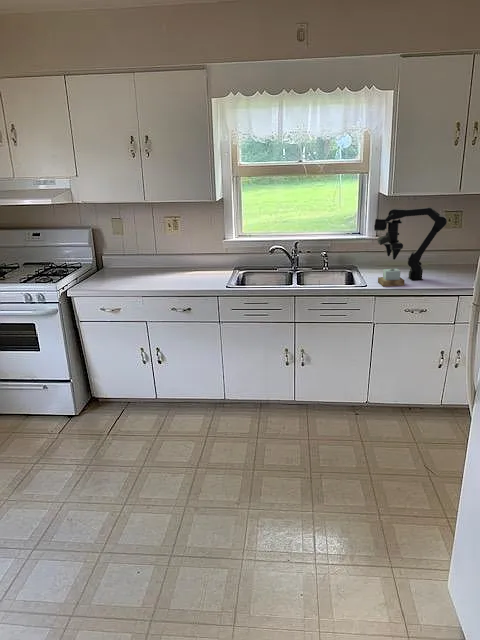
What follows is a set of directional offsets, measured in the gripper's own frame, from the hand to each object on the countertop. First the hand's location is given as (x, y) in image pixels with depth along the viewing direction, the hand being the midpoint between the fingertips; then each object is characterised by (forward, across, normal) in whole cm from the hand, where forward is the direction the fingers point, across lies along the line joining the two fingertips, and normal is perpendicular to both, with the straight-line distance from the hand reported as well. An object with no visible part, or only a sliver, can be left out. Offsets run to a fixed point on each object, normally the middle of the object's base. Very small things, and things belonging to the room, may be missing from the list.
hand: (391, 257), depth 278 cm
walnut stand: (+12, +13, -4) cm, 18 cm away
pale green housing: (+9, +13, -4) cm, 16 cm away
